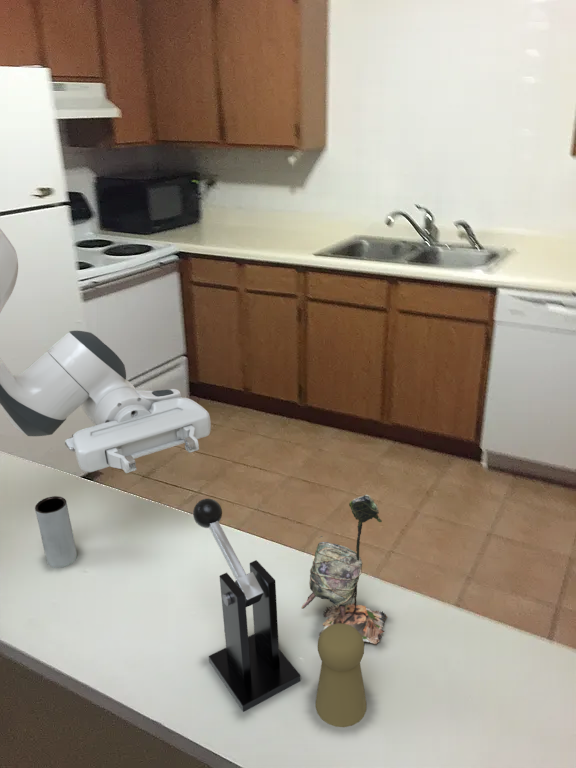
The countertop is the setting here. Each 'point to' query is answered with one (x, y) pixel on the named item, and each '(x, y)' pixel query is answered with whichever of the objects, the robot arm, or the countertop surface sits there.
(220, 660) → the black lever stand
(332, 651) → the olive pawn figure
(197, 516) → the lever handle
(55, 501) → the grey tall hollow cylinder
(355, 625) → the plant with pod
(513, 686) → the countertop surface
